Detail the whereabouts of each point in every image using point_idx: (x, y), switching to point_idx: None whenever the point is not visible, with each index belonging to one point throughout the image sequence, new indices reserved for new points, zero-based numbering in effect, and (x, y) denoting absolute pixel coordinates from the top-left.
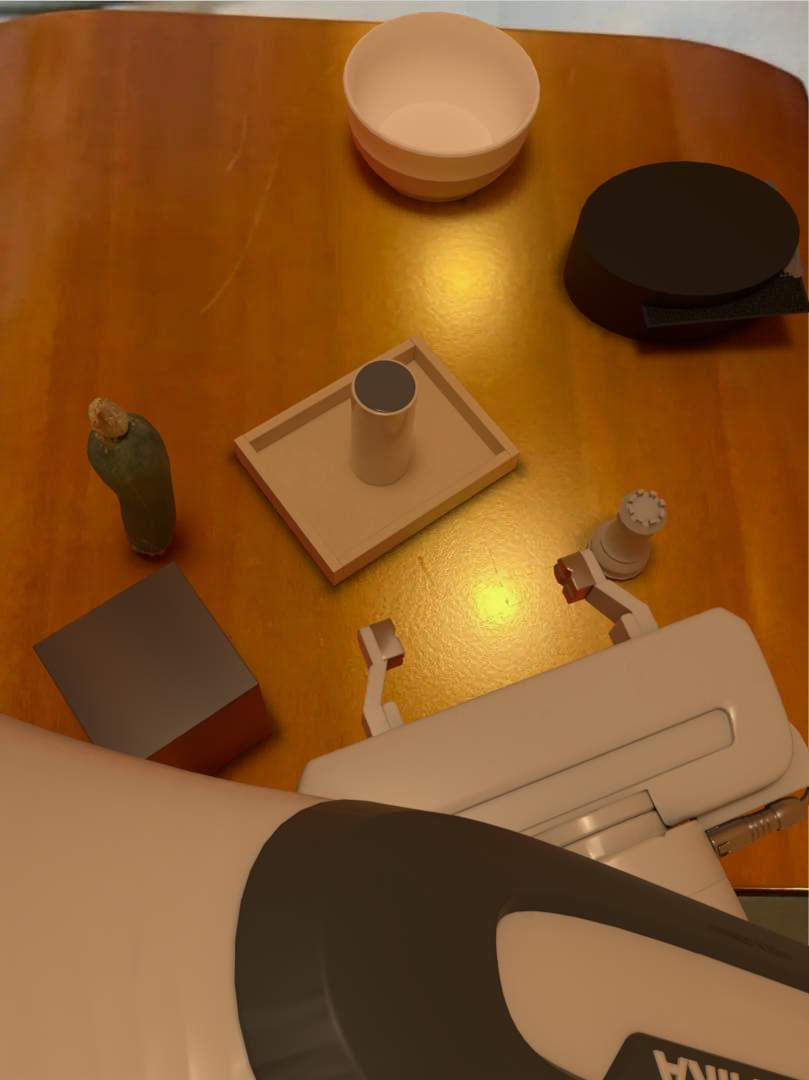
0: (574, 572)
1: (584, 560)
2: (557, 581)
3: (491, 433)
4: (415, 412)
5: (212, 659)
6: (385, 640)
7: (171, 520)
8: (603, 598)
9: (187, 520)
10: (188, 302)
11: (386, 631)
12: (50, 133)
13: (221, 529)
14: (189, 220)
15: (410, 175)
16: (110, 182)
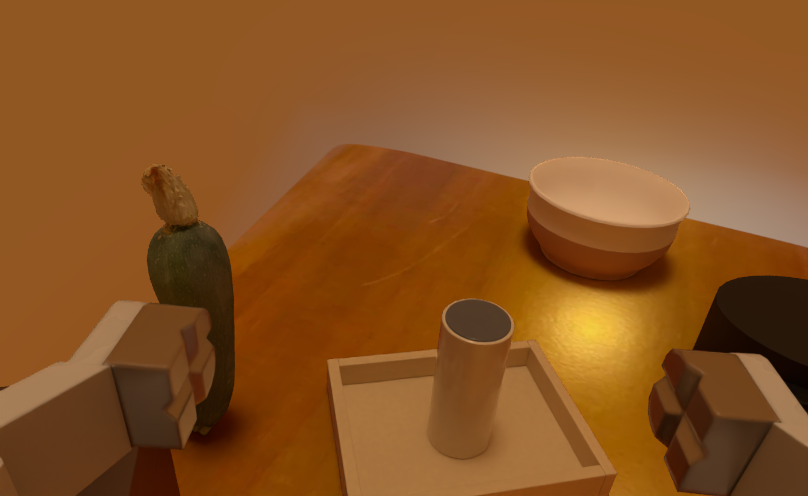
0: (711, 378)
1: (742, 366)
2: (654, 431)
3: (587, 443)
4: (504, 366)
5: (91, 493)
6: (150, 332)
7: (218, 386)
8: (801, 479)
9: (249, 418)
10: (357, 276)
11: (169, 316)
12: (328, 181)
13: (273, 438)
14: (387, 237)
15: (564, 237)
16: (348, 208)
